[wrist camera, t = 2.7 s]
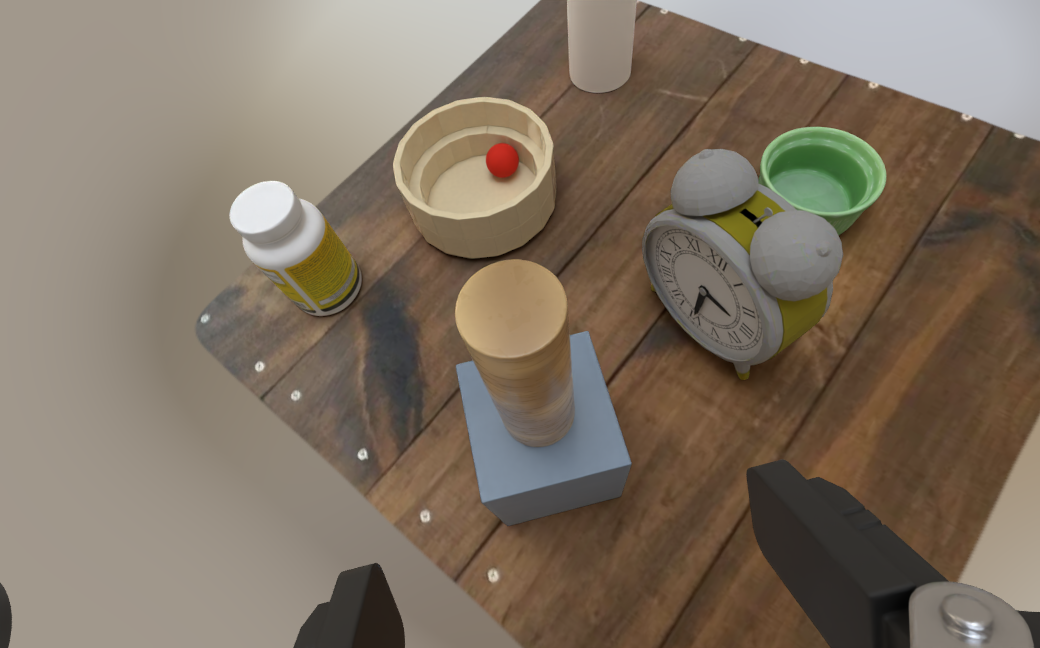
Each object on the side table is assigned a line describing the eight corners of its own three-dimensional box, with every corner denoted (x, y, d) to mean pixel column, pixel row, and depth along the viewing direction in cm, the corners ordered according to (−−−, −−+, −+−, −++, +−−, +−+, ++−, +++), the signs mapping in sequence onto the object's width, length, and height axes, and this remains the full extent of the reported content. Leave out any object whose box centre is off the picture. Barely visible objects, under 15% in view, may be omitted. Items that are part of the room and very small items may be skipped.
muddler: (510, 455, 29) (465, 371, 18) (495, 387, 30) (446, 274, 20) (583, 436, 29) (581, 341, 18) (563, 369, 30) (551, 247, 20)
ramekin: (837, 157, 47) (859, 117, 43) (878, 240, 43) (907, 204, 39) (734, 173, 48) (747, 135, 44) (765, 256, 44) (783, 223, 40)
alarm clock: (630, 290, 44) (649, 156, 30) (694, 246, 45) (739, 98, 31) (737, 400, 39) (815, 297, 25) (805, 347, 40) (915, 222, 26)
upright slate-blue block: (507, 526, 36) (481, 503, 28) (484, 415, 40) (455, 364, 31) (621, 496, 37) (632, 464, 28) (587, 389, 40) (588, 330, 31)
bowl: (425, 278, 46) (404, 237, 41) (405, 167, 53) (385, 118, 47) (573, 240, 46) (571, 194, 41) (536, 133, 53) (530, 81, 47)
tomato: (492, 188, 49) (486, 164, 47) (485, 164, 51) (480, 140, 48) (523, 180, 49) (520, 156, 47) (516, 156, 51) (512, 132, 48)
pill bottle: (366, 254, 48) (310, 166, 38) (360, 314, 45) (298, 236, 36) (300, 261, 49) (227, 176, 39) (290, 321, 46) (209, 247, 36)
